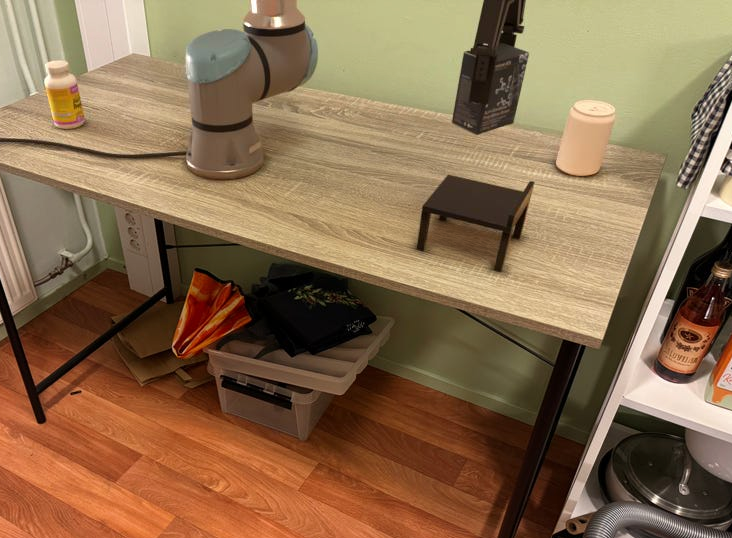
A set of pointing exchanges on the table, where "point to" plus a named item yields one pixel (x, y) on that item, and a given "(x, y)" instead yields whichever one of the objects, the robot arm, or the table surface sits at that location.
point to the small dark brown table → (478, 209)
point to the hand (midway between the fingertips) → (488, 90)
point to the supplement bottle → (63, 96)
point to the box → (501, 96)
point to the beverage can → (585, 137)
